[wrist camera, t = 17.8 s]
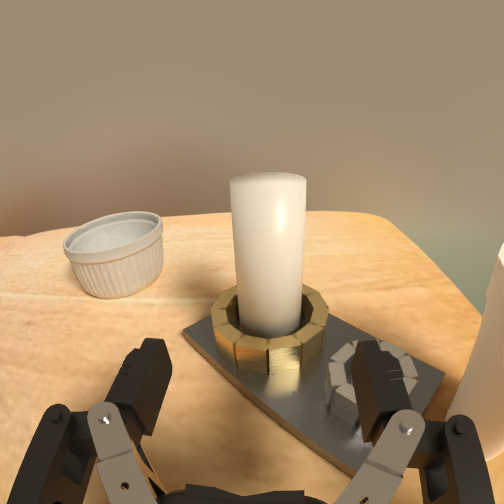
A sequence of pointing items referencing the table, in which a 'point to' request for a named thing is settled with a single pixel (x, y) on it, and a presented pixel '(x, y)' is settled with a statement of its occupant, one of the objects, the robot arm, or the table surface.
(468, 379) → the foam cup
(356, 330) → the grey ring holder base
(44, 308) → the table surface
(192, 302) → the table surface
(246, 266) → the white rounded cylinder
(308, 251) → the table surface
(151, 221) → the ramekin
